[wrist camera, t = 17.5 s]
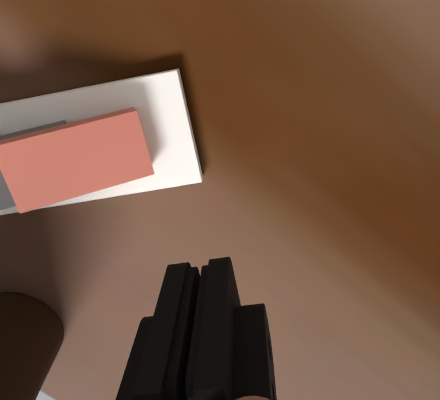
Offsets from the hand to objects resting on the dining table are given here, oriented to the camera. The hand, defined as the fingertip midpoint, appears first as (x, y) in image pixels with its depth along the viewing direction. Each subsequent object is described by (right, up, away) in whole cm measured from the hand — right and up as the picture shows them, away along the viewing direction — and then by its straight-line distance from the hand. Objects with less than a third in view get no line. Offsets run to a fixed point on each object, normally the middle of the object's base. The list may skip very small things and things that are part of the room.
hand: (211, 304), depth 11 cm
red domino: (-6, +7, +20) cm, 22 cm away
